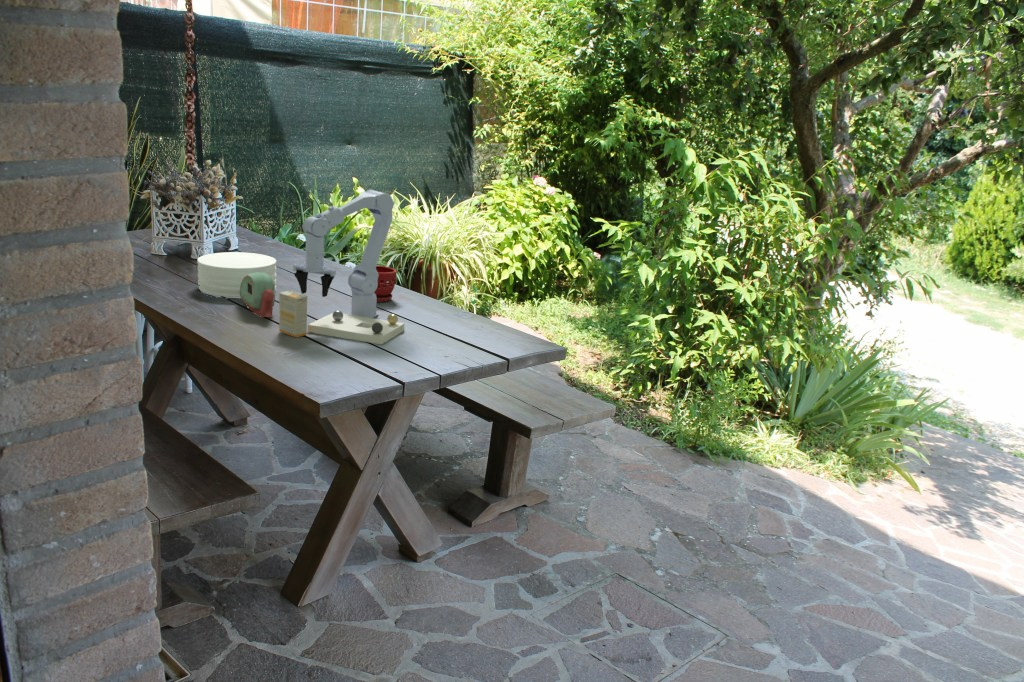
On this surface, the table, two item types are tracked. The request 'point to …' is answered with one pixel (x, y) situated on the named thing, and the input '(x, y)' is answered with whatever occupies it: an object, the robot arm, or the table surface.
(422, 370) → the table surface
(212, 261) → the plate stack
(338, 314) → the steel ball
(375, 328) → the black rubber ball
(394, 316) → the brass ball
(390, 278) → the plant pot
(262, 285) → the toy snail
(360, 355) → the table surface
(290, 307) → the supplement box
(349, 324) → the hole plate
